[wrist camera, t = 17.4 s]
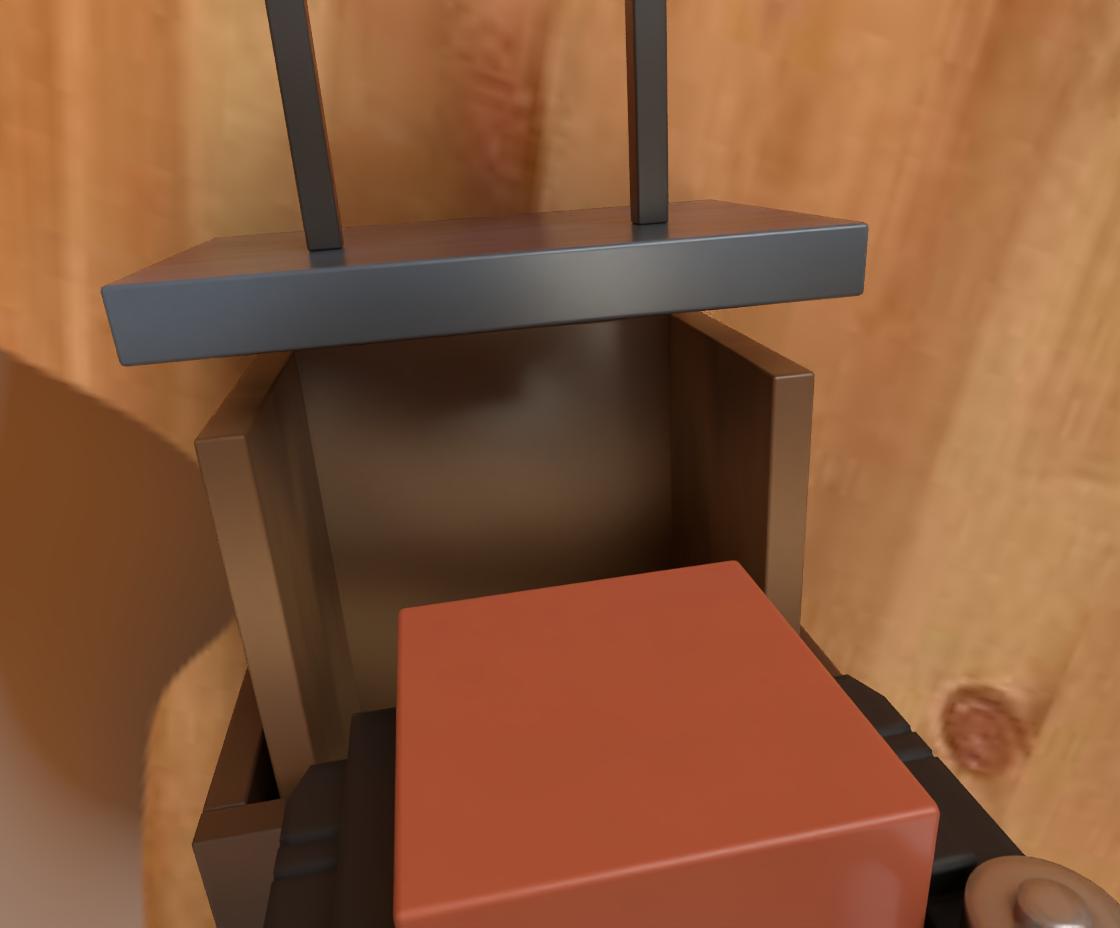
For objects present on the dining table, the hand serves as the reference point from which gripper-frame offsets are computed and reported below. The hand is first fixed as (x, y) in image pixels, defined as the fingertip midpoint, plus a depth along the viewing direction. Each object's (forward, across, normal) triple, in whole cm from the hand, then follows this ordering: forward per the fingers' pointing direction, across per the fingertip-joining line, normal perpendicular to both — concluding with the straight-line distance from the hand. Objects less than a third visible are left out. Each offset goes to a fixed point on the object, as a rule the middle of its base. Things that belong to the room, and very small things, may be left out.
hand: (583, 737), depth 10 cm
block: (0, 0, 0) cm, 0 cm away
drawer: (+12, 0, -1) cm, 12 cm away
